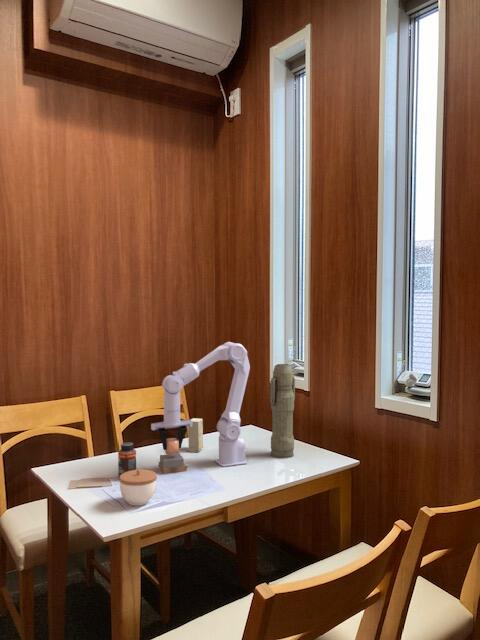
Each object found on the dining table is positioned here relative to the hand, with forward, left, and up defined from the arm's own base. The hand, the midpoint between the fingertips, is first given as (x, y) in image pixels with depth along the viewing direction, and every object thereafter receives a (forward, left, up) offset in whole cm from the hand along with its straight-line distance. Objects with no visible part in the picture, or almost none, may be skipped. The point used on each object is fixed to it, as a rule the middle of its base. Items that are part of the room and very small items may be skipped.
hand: (172, 448), depth 174 cm
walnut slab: (0, 0, -8) cm, 8 cm away
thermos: (-44, 0, -8) cm, 45 cm away
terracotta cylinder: (0, 0, -1) cm, 1 cm away
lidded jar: (+17, +24, -8) cm, 30 cm away
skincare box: (-15, -19, -8) cm, 25 cm away
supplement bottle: (+16, +2, -8) cm, 18 cm away
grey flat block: (0, 0, -6) cm, 6 cm away
